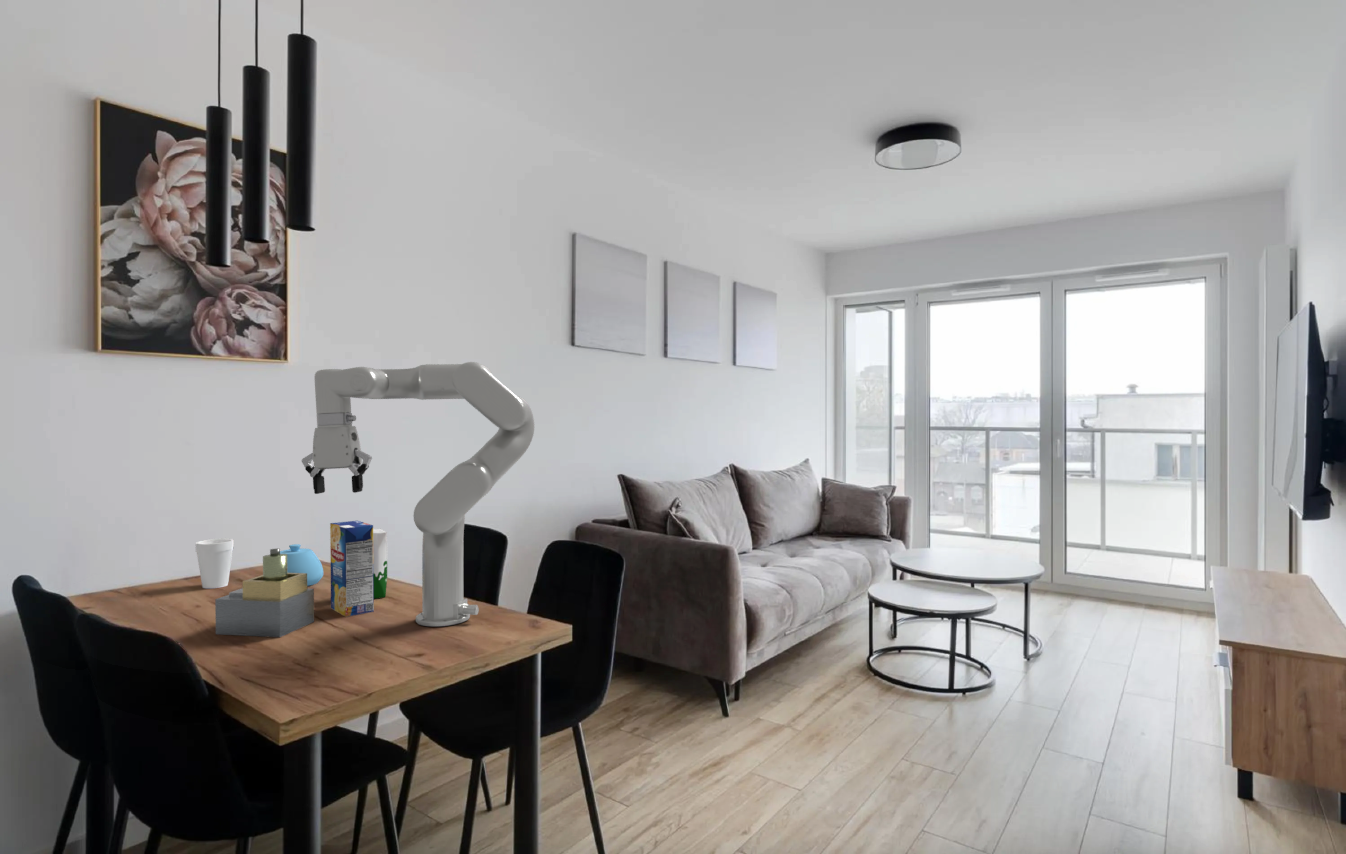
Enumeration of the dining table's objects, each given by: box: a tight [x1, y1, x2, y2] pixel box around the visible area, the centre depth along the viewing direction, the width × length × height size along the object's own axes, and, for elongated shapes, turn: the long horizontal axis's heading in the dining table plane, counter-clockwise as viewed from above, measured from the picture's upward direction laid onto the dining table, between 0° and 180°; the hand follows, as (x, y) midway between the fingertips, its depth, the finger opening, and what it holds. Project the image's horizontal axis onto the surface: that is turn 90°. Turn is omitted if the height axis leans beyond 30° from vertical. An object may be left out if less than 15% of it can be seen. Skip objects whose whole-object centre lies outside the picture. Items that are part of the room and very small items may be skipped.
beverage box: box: [329, 520, 375, 618], centre depth 182 cm, size 7×11×22 cm, turn 43°
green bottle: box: [262, 548, 288, 581], centre depth 166 cm, size 5×5×10 cm
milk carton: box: [373, 528, 388, 600], centre depth 195 cm, size 9×9×20 cm
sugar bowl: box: [280, 543, 324, 587], centre depth 210 cm, size 15×15×12 cm
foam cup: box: [195, 538, 235, 589], centre depth 207 cm, size 10×9×13 cm
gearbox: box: [214, 573, 315, 638], centre depth 166 cm, size 16×12×12 cm
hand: (338, 492), depth 170 cm, fingers open, 9 cm apart
